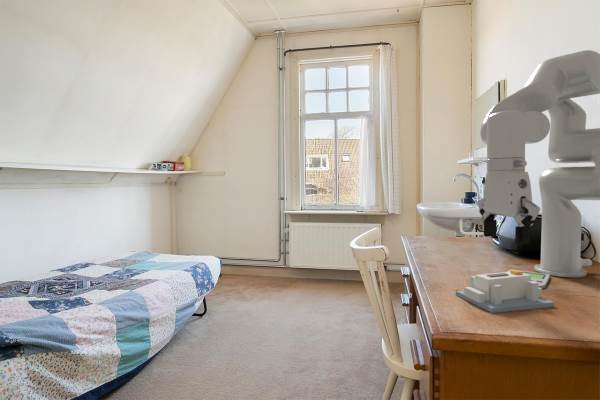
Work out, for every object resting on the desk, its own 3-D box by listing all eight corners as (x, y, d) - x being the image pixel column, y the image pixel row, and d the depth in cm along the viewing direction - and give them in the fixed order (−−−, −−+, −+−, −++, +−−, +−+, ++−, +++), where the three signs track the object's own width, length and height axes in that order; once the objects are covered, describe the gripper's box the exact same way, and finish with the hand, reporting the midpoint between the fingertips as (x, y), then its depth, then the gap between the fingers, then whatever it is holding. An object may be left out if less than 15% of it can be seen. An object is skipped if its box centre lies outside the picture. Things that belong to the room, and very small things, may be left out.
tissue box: (515, 291, 85) (515, 268, 85) (530, 296, 81) (530, 272, 81) (474, 296, 82) (475, 272, 82) (488, 301, 78) (488, 277, 78)
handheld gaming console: (499, 278, 96) (510, 268, 107) (499, 284, 96) (510, 273, 107) (543, 285, 89) (550, 273, 100) (543, 291, 89) (550, 278, 101)
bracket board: (512, 290, 89) (512, 270, 89) (555, 306, 77) (555, 284, 77) (454, 295, 86) (455, 275, 86) (490, 312, 74) (491, 289, 74)
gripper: (553, 164, 72) (552, 245, 74) (492, 166, 89) (492, 232, 91) (522, 166, 71) (522, 249, 72) (466, 167, 88) (466, 234, 89)
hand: (505, 239), depth 81 cm, fingers open, 9 cm apart
